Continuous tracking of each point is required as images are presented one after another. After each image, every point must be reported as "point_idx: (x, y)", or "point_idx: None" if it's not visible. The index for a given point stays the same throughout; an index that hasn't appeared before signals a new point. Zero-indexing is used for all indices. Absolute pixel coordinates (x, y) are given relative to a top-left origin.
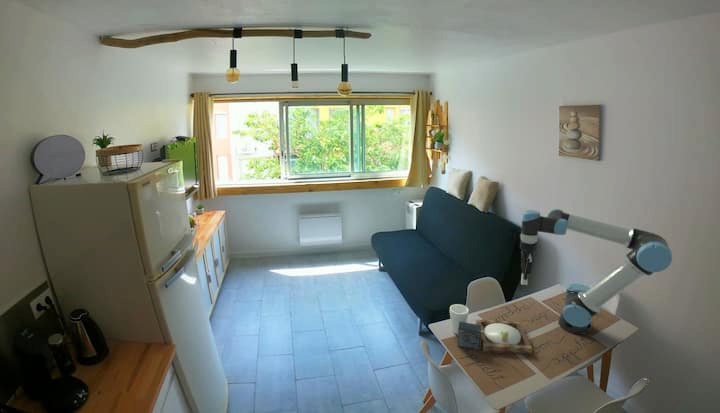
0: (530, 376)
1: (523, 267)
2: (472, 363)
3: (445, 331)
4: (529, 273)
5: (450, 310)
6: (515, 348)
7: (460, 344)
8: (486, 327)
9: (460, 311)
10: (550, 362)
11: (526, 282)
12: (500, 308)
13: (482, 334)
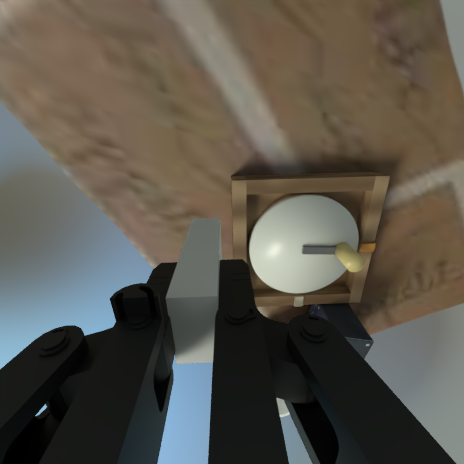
0: (458, 198)
1: (156, 446)
2: (387, 314)
3: None
4: (335, 342)
5: (284, 414)
6: (376, 225)
7: None
8: (275, 286)
9: None
10: (417, 120)
11: (220, 236)
12: (118, 213)
13: (310, 300)
